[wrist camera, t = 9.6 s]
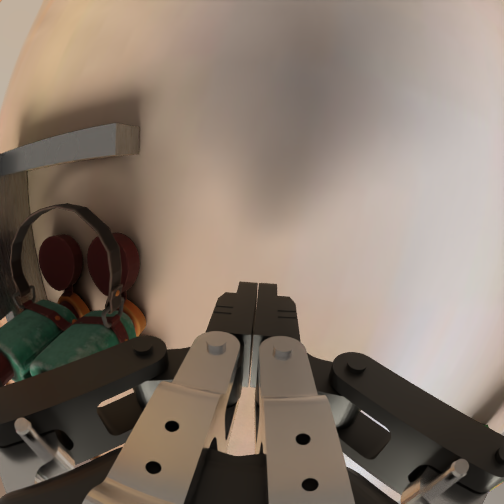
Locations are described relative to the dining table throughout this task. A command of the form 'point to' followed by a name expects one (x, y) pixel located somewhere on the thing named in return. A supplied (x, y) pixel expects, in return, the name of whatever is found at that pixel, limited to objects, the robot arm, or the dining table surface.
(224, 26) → the dining table surface
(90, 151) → the bracket
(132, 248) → the binoculars
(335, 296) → the dining table surface
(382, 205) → the dining table surface
